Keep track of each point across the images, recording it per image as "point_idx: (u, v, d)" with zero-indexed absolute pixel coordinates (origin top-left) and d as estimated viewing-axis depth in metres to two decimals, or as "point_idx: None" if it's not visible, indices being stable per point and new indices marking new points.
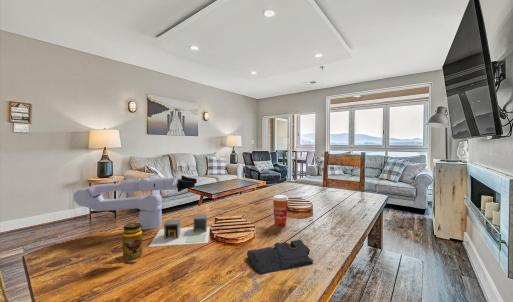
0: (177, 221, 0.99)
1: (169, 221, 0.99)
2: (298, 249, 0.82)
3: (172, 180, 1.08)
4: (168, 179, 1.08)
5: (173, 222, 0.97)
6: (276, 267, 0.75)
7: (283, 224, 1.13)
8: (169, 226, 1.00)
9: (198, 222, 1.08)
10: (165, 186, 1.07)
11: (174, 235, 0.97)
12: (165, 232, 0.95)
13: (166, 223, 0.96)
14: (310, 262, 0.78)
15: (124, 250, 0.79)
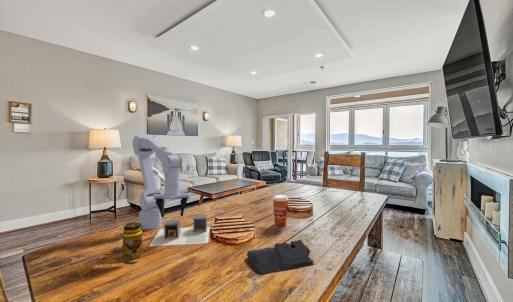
0: (177, 221, 0.99)
1: (169, 221, 0.99)
2: (299, 250, 0.82)
3: (165, 193, 0.96)
4: (167, 189, 0.95)
5: (173, 222, 0.97)
6: (276, 268, 0.74)
7: (283, 224, 1.13)
8: (169, 226, 1.00)
9: (198, 222, 1.08)
10: None
11: (174, 235, 0.97)
12: (165, 232, 0.95)
13: (166, 223, 0.96)
14: (310, 263, 0.78)
15: (124, 250, 0.79)
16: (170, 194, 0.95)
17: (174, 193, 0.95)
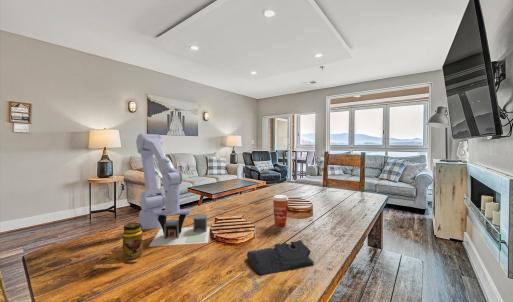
0: (177, 221, 0.99)
1: (169, 221, 0.99)
2: (299, 250, 0.82)
3: (166, 210, 0.96)
4: (167, 206, 0.95)
5: (173, 222, 0.97)
6: (276, 268, 0.74)
7: (283, 224, 1.13)
8: (169, 226, 1.00)
9: (198, 222, 1.08)
10: None
11: (174, 235, 0.97)
12: (165, 232, 0.95)
13: (166, 223, 0.96)
14: (310, 263, 0.77)
15: (124, 250, 0.79)
16: (170, 211, 0.95)
17: (174, 210, 0.96)
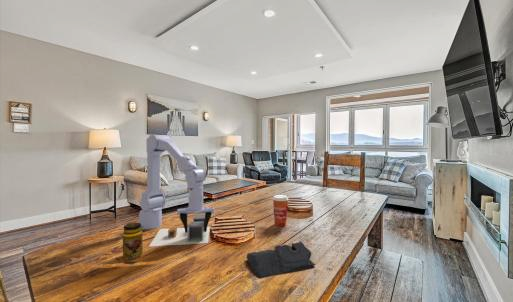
0: (201, 223, 0.96)
1: (192, 223, 0.96)
2: (299, 252, 0.80)
3: (190, 208, 0.93)
4: (191, 203, 0.93)
5: (197, 224, 0.95)
6: (276, 271, 0.73)
7: (283, 224, 1.13)
8: (192, 228, 0.98)
9: None
10: None
11: (174, 235, 0.97)
12: (189, 234, 0.93)
13: (190, 225, 0.94)
14: (311, 266, 0.76)
15: (124, 250, 0.79)
16: (195, 209, 0.93)
17: (198, 208, 0.93)
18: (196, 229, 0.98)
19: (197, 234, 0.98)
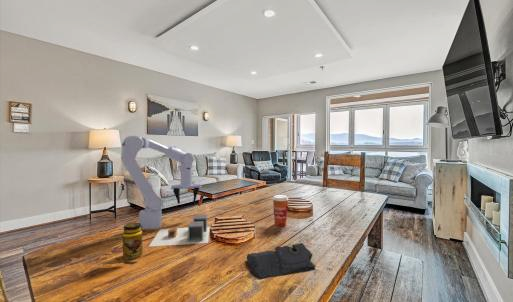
0: (201, 223, 0.96)
1: (192, 223, 0.96)
2: (300, 254, 0.79)
3: (181, 184, 1.17)
4: (182, 180, 1.16)
5: (197, 224, 0.95)
6: (276, 272, 0.72)
7: (283, 224, 1.13)
8: (192, 228, 0.98)
9: None
10: None
11: (174, 235, 0.97)
12: (189, 234, 0.93)
13: (190, 225, 0.94)
14: (312, 267, 0.75)
15: (124, 250, 0.79)
16: (185, 184, 1.16)
17: (188, 184, 1.17)
18: (196, 229, 0.98)
19: (197, 234, 0.98)
